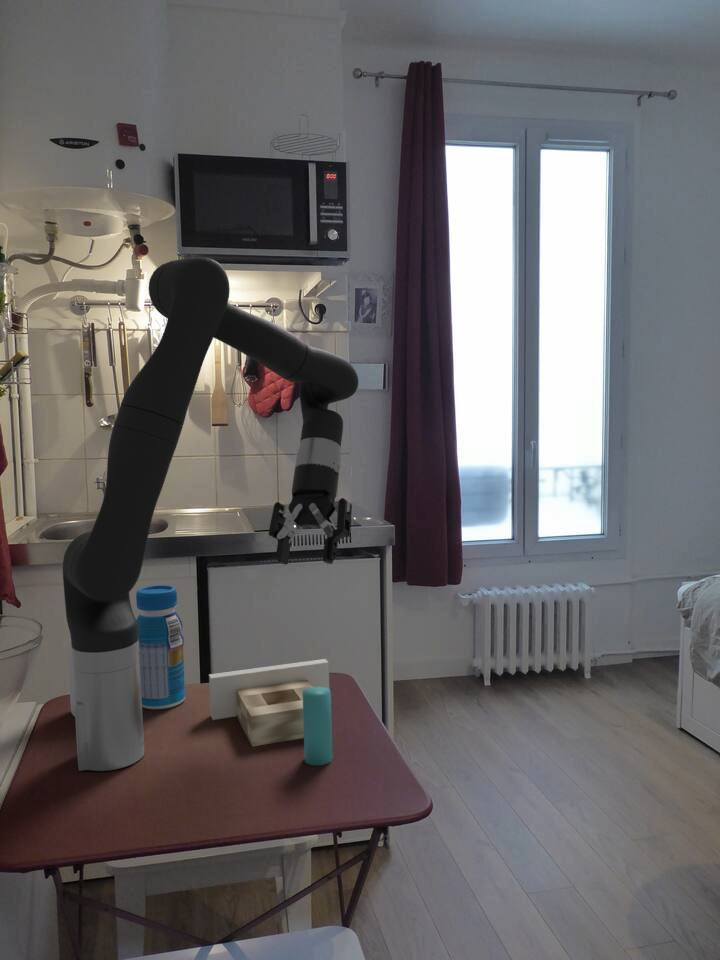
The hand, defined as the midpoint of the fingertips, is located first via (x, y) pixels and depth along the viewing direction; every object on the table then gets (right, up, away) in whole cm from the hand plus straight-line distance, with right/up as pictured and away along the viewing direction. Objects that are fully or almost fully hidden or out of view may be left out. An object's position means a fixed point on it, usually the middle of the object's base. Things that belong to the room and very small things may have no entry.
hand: (304, 563), depth 128 cm
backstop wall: (-6, -25, +5) cm, 26 cm away
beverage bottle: (-26, -25, +10) cm, 37 cm away
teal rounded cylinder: (+3, -27, -14) cm, 30 cm away
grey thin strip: (-36, -26, +6) cm, 45 cm away
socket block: (-4, -26, -2) cm, 26 cm away
